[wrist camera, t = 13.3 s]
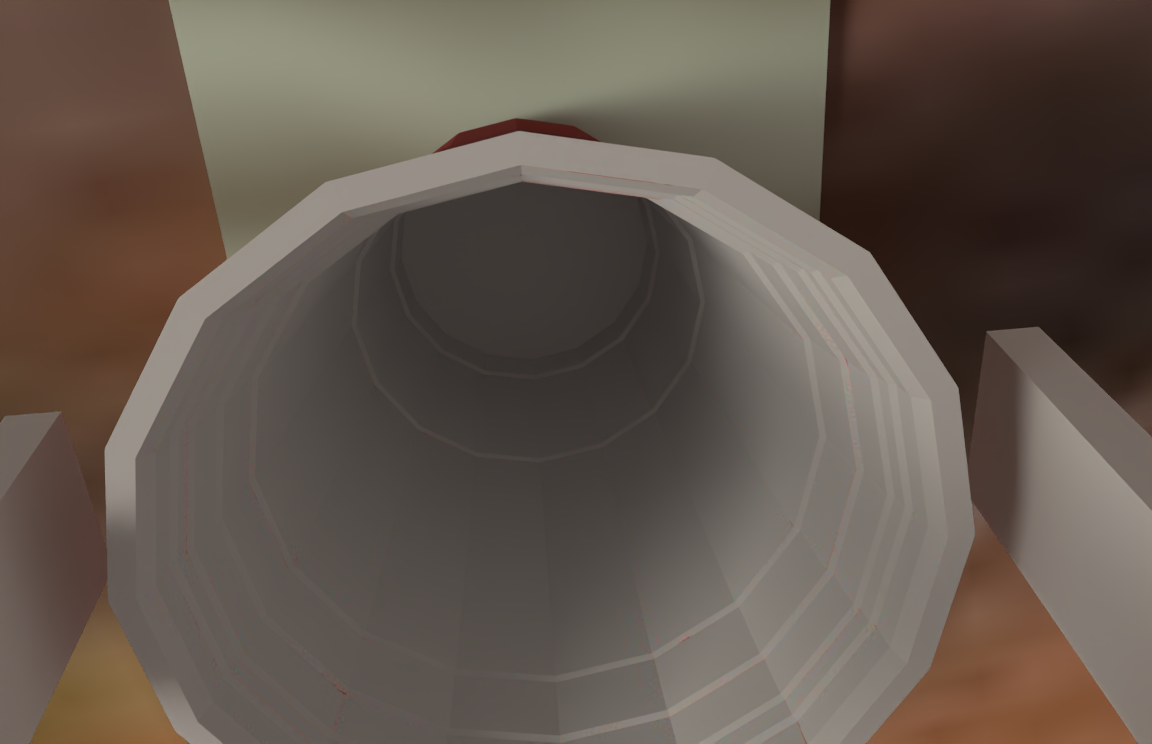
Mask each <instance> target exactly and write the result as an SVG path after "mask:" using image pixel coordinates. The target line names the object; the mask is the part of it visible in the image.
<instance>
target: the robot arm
mask: <svg viewBox="0 0 1152 744" xmlns="http://www.w3.org/2000/svg"><path fill="white" fill-rule="evenodd" d="M968 476H969V485H970V494H971V500H972V501H973V503H974V504H975V505H976V507H977V508H978V510H979V511H980V513H981V514H982V516H983V517H984V519H985V520H986V522H987V523H988V524H989V526H990V527H991V529H992V530H993V532H994V533H995V535H996V536H997V538H998V539H999V541H1000V542H1001V544H1002V545H1003V546H1004V548H1005V549H1006V551H1007V552H1008V554H1009V555H1010V557H1011V558H1012V560H1013V561H1014V563H1015V564H1016V565H1017V567H1018V568H1019V570H1020V571H1021V573H1022V574H1023V576H1024V577H1025V579H1026V580H1027V582H1028V583H1029V585H1030V586H1031V587H1032V589H1033V590H1034V592H1035V593H1036V595H1037V596H1038V598H1039V599H1040V601H1041V602H1042V604H1043V605H1044V606H1045V608H1046V609H1047V611H1048V612H1049V614H1050V615H1051V617H1052V618H1053V620H1054V621H1055V623H1056V624H1057V626H1058V627H1059V628H1060V630H1061V631H1062V633H1063V634H1064V636H1065V637H1066V639H1067V640H1068V642H1069V643H1070V645H1071V646H1072V647H1073V649H1074V650H1075V652H1076V653H1077V655H1078V656H1079V658H1080V659H1081V661H1082V662H1083V664H1084V665H1085V667H1086V668H1087V669H1088V671H1089V672H1090V674H1091V675H1092V677H1093V678H1094V680H1095V681H1096V683H1097V684H1098V686H1099V687H1100V688H1101V690H1102V691H1103V693H1104V694H1105V696H1106V697H1107V699H1108V700H1109V702H1110V703H1111V705H1112V706H1113V708H1114V709H1115V710H1116V712H1117V713H1118V715H1119V716H1120V718H1121V719H1122V721H1123V722H1124V724H1125V725H1126V727H1127V728H1128V729H1129V731H1130V732H1131V734H1132V735H1133V737H1134V738H1135V740H1136V741H1137V743H1138V744H1152V437H1151V436H1150V435H1149V434H1148V433H1147V432H1146V431H1145V430H1144V429H1143V428H1142V427H1141V426H1140V425H1139V424H1138V423H1137V422H1136V421H1135V420H1134V419H1133V418H1132V417H1131V416H1130V415H1129V414H1127V413H1126V412H1125V411H1124V410H1123V409H1122V408H1121V407H1120V406H1119V405H1118V404H1117V403H1116V402H1115V401H1114V400H1113V399H1112V398H1111V397H1110V396H1109V395H1108V394H1107V393H1106V392H1105V391H1104V390H1103V389H1102V388H1101V387H1100V386H1099V385H1098V384H1097V383H1096V382H1095V381H1094V380H1093V379H1092V378H1091V377H1090V376H1088V375H1087V374H1086V373H1085V372H1084V371H1083V370H1082V369H1081V368H1080V367H1079V366H1078V365H1077V364H1076V363H1075V362H1074V361H1073V360H1072V359H1071V358H1070V357H1069V356H1068V355H1067V354H1066V353H1065V352H1064V351H1063V350H1062V349H1061V348H1060V347H1059V346H1058V345H1057V344H1056V343H1055V342H1054V341H1053V340H1052V339H1051V338H1050V337H1048V336H1047V335H1046V334H1045V333H1044V332H1043V331H1042V330H1041V329H1040V328H1039V327H1030V328H1019V329H1007V330H995V331H986V337H985V344H984V352H983V359H982V366H981V374H980V381H979V388H978V396H977V403H976V410H975V418H974V425H973V432H972V440H971V447H970V454H969V462H968ZM107 579H108V577H107V548H106V545H105V542H104V539H103V536H102V533H101V530H100V527H99V524H98V521H97V518H96V515H95V512H94V509H93V506H92V503H91V500H90V497H89V494H88V491H87V488H86V485H85V482H84V479H83V476H82V473H81V470H80V467H79V464H78V461H77V458H76V455H75V452H74V449H73V446H72V443H71V440H70V437H69V434H68V431H67V428H66V425H65V422H64V419H63V416H62V413H61V411H60V412H49V413H37V414H26V415H14V416H5V417H4V419H3V420H2V421H1V423H0V744H29V743H30V741H31V739H32V737H33V735H34V732H35V730H36V728H37V726H38V724H39V722H40V720H41V718H42V716H43V714H44V711H45V709H46V707H47V705H48V703H49V701H50V699H51V697H52V695H53V693H54V691H55V688H56V686H57V684H58V682H59V680H60V678H61V676H62V674H63V672H64V670H65V667H66V665H67V663H68V661H69V659H70V657H71V655H72V653H73V651H74V649H75V647H76V644H77V642H78V640H79V638H80V636H81V634H82V632H83V630H84V628H85V626H86V623H87V621H88V619H89V617H90V615H91V613H92V611H93V609H94V607H95V605H96V603H97V600H98V598H99V596H100V594H101V592H102V590H103V588H104V586H105V584H106V582H107Z"/></svg>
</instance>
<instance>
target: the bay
mask: <svg viewBox="0 0 1152 744" xmlns="http://www.w3.org/2000/svg"><path fill="white" fill-rule="evenodd" d="M169 4H170V9H171V13H172V17H173V22H174V26H175V31H176V35H177V40H178V44H179V48H180V53H181V57H182V62H183V66H184V70H185V75H186V79H187V84H188V88H189V92H190V97H191V101H192V106H193V110H194V115H195V119H196V123H197V128H198V132H199V137H200V141H201V145H202V150H203V154H204V159H205V163H206V167H207V172H208V176H209V181H210V185H211V190H212V194H213V198H214V203H215V207H216V212H217V216H218V220H219V225H220V229H221V234H222V238H223V242H224V247H225V251H226V256H227V259H229V258H230V257H231V256H232V255H234V254H235V253H236V252H237V251H239V250H240V249H241V248H243V247H244V246H245V245H246V244H248V243H249V242H250V241H251V240H253V239H254V238H255V237H256V236H258V235H259V234H260V233H262V232H263V231H264V230H265V229H267V228H268V227H269V226H270V225H272V224H273V223H274V222H275V221H277V220H278V219H279V218H281V217H282V216H283V215H284V214H286V213H287V212H288V211H289V210H291V209H292V208H293V207H294V206H296V205H297V204H298V203H299V202H301V201H302V200H303V199H305V198H306V197H307V196H308V195H310V194H311V193H312V192H313V191H315V190H316V189H317V188H318V187H320V186H321V185H322V184H324V183H325V182H328V181H331V180H335V179H339V178H343V177H347V176H350V175H354V174H358V173H362V172H366V171H369V170H373V169H377V168H381V167H384V166H388V165H392V164H396V163H400V162H403V161H407V160H411V159H415V158H418V157H422V156H426V155H430V154H432V153H433V152H435V151H436V150H437V149H439V148H440V147H441V146H442V145H444V144H445V143H446V142H448V141H449V140H450V139H452V138H453V137H454V136H456V135H457V134H458V133H460V132H464V131H468V130H472V129H476V128H479V127H483V126H487V125H491V124H495V123H499V122H502V121H506V120H510V119H514V118H520V119H527V120H534V121H542V122H549V123H556V124H564V125H571V126H575V127H577V128H578V129H580V130H582V131H584V132H585V133H587V134H589V135H590V136H592V137H594V138H596V139H597V140H599V141H601V142H603V143H610V144H617V145H625V146H632V147H639V148H647V149H654V150H661V151H668V152H676V153H683V154H690V155H698V156H705V157H712V158H716V159H717V160H719V161H721V162H722V163H724V164H726V165H727V166H729V167H731V168H732V169H734V170H736V171H737V172H739V173H740V174H742V175H744V176H745V177H747V178H749V179H750V180H752V181H754V182H755V183H757V184H759V185H760V186H762V187H763V188H765V189H767V190H768V191H770V192H772V193H773V194H775V195H777V196H778V197H780V198H782V199H783V200H785V201H786V202H788V203H790V204H791V205H793V206H795V207H796V208H798V209H800V210H801V211H803V212H804V213H806V214H808V215H809V216H811V217H813V218H814V219H816V220H818V221H820V201H821V180H822V160H823V140H824V120H825V100H826V79H827V59H828V39H829V19H830V0H169Z"/></svg>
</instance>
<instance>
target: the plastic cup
mask: <svg viewBox="0 0 1152 744" xmlns="http://www.w3.org/2000/svg"><path fill="white" fill-rule="evenodd" d="M105 483H106V530H107V577H108V602H109V604H110V606H111V608H112V610H113V612H114V614H115V616H116V618H117V620H118V622H119V624H120V626H121V628H122V629H123V631H124V633H125V635H126V637H127V639H128V641H129V643H130V645H131V647H132V649H133V651H134V653H135V655H136V657H137V658H138V660H139V662H140V664H141V666H142V668H143V670H144V672H145V674H146V676H147V678H148V680H149V682H150V684H151V686H152V687H153V689H154V691H155V693H156V695H157V697H158V699H159V701H160V703H161V705H162V707H163V709H164V711H165V713H166V715H167V717H168V718H169V720H170V722H171V724H172V726H173V728H174V730H175V731H176V732H177V733H178V734H179V735H180V736H182V737H183V738H184V739H185V740H186V741H187V742H189V743H190V744H866V742H867V741H868V740H869V739H870V738H871V737H872V735H873V734H874V733H875V732H876V731H877V730H878V728H879V727H880V726H881V725H882V724H883V723H884V721H885V720H886V719H887V718H888V717H889V716H890V714H891V713H892V712H893V711H894V710H895V709H896V707H897V706H898V705H899V704H900V703H901V702H902V701H903V699H904V698H905V697H906V696H907V695H908V694H909V692H910V691H911V690H912V689H913V688H914V687H915V685H916V684H917V683H918V682H919V681H920V680H921V678H922V677H923V676H924V675H925V674H926V673H927V671H928V670H929V669H930V666H931V663H932V661H933V658H934V655H935V652H936V649H937V646H938V643H939V640H940V637H941V634H942V631H943V628H944V625H945V622H946V619H947V616H948V613H949V610H950V607H951V604H952V601H953V598H954V595H955V592H956V589H957V586H958V584H959V581H960V578H961V575H962V572H963V569H964V566H965V563H966V560H967V557H968V554H969V551H970V548H971V545H972V542H973V539H974V536H975V529H974V520H973V511H972V503H971V494H970V485H969V476H968V468H967V459H966V450H965V441H964V433H963V424H962V415H961V407H960V398H959V389H958V386H957V385H956V383H955V382H954V380H953V379H952V377H951V376H950V374H949V373H948V371H947V370H946V368H945V367H944V365H943V363H942V362H941V360H940V359H939V357H938V356H937V354H936V353H935V351H934V350H933V348H932V347H931V345H930V344H929V342H928V340H927V339H926V337H925V336H924V334H923V333H922V331H921V330H920V328H919V327H918V325H917V324H916V322H915V321H914V319H913V318H912V316H911V314H910V313H909V311H908V310H907V308H906V307H905V305H904V304H903V302H902V301H901V299H900V298H899V296H898V295H897V293H896V291H895V290H894V288H893V287H892V285H891V284H890V282H889V281H888V279H887V278H886V276H885V275H884V273H883V272H882V270H881V269H880V267H879V265H878V264H877V262H876V261H875V259H874V258H873V256H872V255H871V253H870V252H868V251H867V250H865V249H864V248H862V247H860V246H859V245H857V244H855V243H854V242H852V241H850V240H849V239H847V238H846V237H844V236H842V235H841V234H839V233H837V232H836V231H834V230H832V229H831V228H829V227H827V226H826V225H824V224H823V223H821V222H819V221H818V220H816V219H814V218H813V217H811V216H809V215H808V214H806V213H804V212H803V211H801V210H800V209H798V208H796V207H795V206H793V205H791V204H790V203H788V202H786V201H785V200H783V199H782V198H780V197H778V196H777V195H775V194H773V193H772V192H770V191H768V190H767V189H765V188H763V187H762V186H760V185H759V184H757V183H755V182H754V181H752V180H750V179H749V178H747V177H745V176H744V175H742V174H740V173H739V172H737V171H736V170H734V169H732V168H731V167H729V166H727V165H726V164H724V163H722V162H721V161H719V160H717V159H716V158H712V157H705V156H698V155H690V154H683V153H676V152H668V151H661V150H654V149H647V148H639V147H632V146H625V145H617V144H610V143H603V142H601V141H599V140H597V139H596V138H594V137H592V136H590V135H589V134H587V133H585V132H584V131H582V130H580V129H578V128H577V127H575V126H571V125H564V124H556V123H549V122H542V121H534V120H527V119H520V118H514V119H510V120H506V121H502V122H499V123H495V124H491V125H487V126H483V127H479V128H476V129H472V130H468V131H464V132H460V133H458V134H457V135H456V136H454V137H453V138H452V139H450V140H449V141H448V142H446V143H445V144H444V145H442V146H441V147H440V148H439V149H437V150H436V151H435V152H433V153H432V154H430V155H426V156H422V157H418V158H415V159H411V160H407V161H403V162H400V163H396V164H392V165H388V166H384V167H381V168H377V169H373V170H369V171H366V172H362V173H358V174H354V175H350V176H347V177H343V178H339V179H335V180H331V181H328V182H325V183H324V184H322V185H321V186H320V187H318V188H317V189H316V190H315V191H313V192H312V193H311V194H310V195H308V196H307V197H306V198H305V199H303V200H302V201H301V202H299V203H298V204H297V205H296V206H294V207H293V208H292V209H291V210H289V211H288V212H287V213H286V214H284V215H283V216H282V217H281V218H279V219H278V220H277V221H275V222H274V223H273V224H272V225H270V226H269V227H268V228H267V229H265V230H264V231H263V232H262V233H260V234H259V235H258V236H256V237H255V238H254V239H253V240H251V241H250V242H249V243H248V244H246V245H245V246H244V247H243V248H241V249H240V250H239V251H237V252H236V253H235V254H234V255H232V256H231V257H230V258H229V259H227V260H226V261H225V262H224V263H222V264H221V265H220V266H219V267H217V268H216V269H215V270H213V271H212V272H211V273H210V274H208V275H207V276H206V277H205V278H203V279H202V280H201V281H200V282H198V283H197V284H196V285H194V286H193V287H192V288H191V289H189V290H188V291H187V292H186V293H184V294H183V295H182V296H181V297H179V298H178V300H177V302H176V304H175V306H174V308H173V310H172V312H171V314H170V316H169V318H168V320H167V322H166V325H165V327H164V329H163V331H162V333H161V335H160V337H159V339H158V341H157V343H156V345H155V347H154V349H153V351H152V353H151V355H150V357H149V359H148V361H147V363H146V366H145V368H144V370H143V372H142V374H141V376H140V378H139V380H138V382H137V384H136V386H135V388H134V390H133V392H132V394H131V396H130V398H129V400H128V402H127V404H126V406H125V409H124V411H123V413H122V415H121V417H120V419H119V421H118V423H117V425H116V427H115V429H114V431H113V433H112V435H111V437H110V439H109V441H108V443H107V445H106V447H105Z"/></svg>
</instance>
